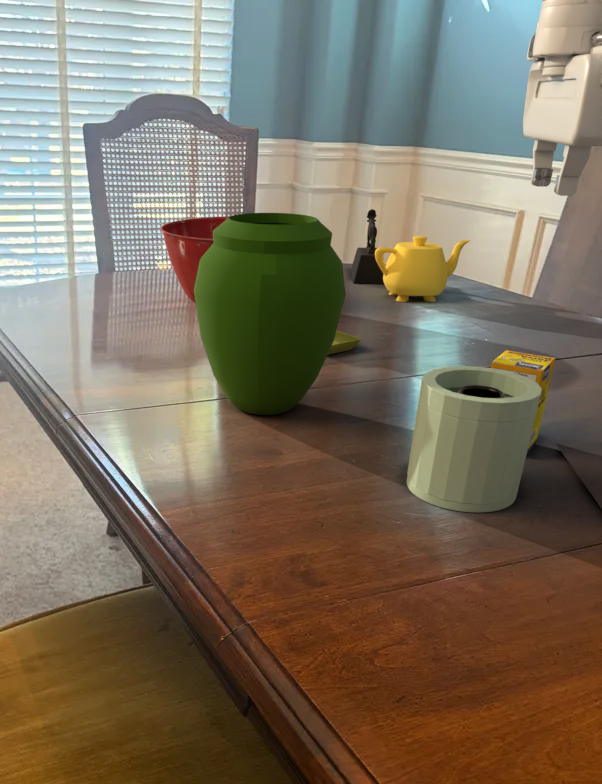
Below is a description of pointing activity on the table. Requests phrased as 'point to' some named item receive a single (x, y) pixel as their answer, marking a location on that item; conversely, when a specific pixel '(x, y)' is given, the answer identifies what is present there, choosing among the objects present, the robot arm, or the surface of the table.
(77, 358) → the table surface
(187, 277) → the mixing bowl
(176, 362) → the table surface
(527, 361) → the supplement box
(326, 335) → the vase
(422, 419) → the jar
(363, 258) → the sculpture
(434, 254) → the teapot
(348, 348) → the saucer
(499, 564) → the table surface
